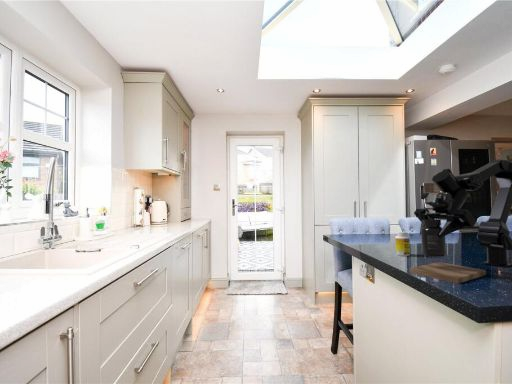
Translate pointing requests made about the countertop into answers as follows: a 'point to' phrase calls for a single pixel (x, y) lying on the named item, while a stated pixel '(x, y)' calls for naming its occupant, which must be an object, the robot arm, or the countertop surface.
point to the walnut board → (448, 272)
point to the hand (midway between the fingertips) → (429, 235)
